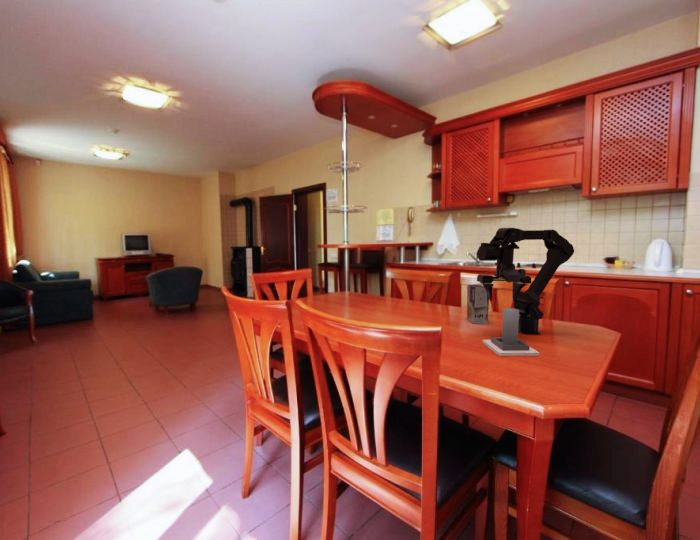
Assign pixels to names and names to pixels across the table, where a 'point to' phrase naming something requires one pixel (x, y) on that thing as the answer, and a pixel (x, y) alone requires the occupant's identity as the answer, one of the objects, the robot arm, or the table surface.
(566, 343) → the table surface
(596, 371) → the table surface
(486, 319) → the coffee box
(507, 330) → the slate post
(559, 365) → the table surface
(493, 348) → the seat board
